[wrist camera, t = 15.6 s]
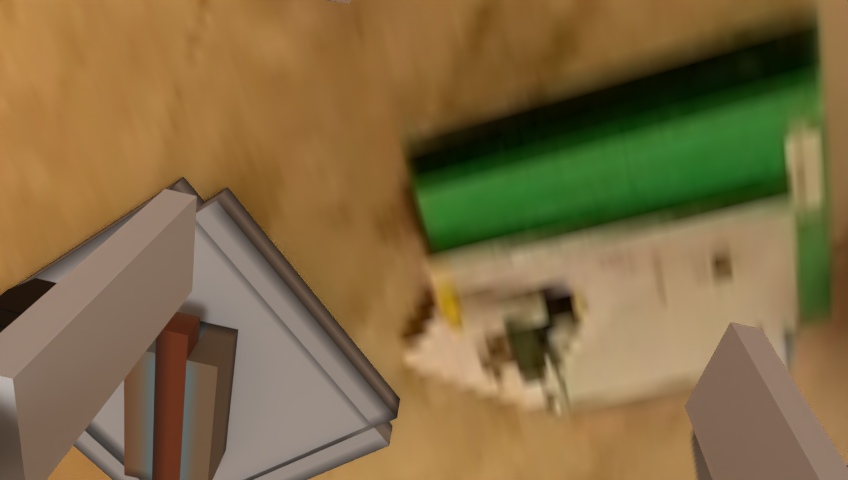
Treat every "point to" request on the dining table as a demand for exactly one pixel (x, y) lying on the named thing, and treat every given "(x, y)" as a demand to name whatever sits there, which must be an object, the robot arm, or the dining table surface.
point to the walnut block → (342, 1)
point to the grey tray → (237, 370)
